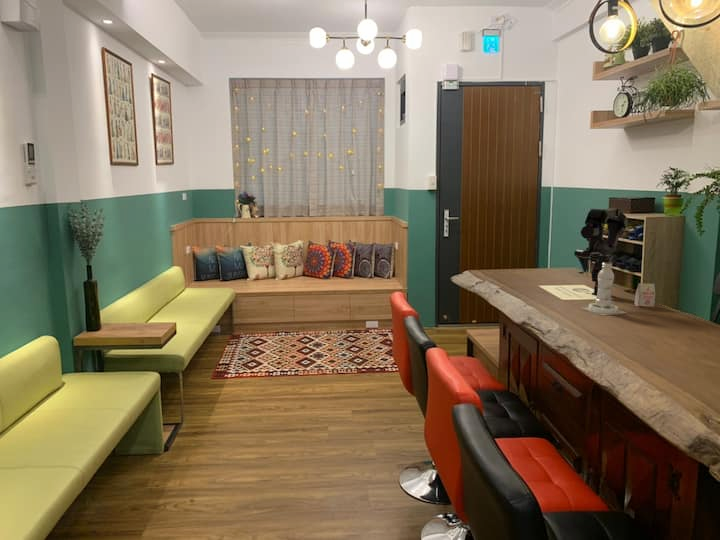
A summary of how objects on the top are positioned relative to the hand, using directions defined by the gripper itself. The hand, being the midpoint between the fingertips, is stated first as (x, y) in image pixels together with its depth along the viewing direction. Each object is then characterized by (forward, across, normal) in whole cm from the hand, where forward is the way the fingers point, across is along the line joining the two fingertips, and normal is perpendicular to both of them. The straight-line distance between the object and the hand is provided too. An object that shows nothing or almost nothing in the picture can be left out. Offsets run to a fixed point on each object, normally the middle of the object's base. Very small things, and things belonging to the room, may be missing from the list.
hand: (592, 271), depth 261 cm
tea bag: (+13, +13, -18) cm, 26 cm away
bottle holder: (+13, -12, -18) cm, 25 cm away
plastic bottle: (+13, -11, -18) cm, 25 cm away
